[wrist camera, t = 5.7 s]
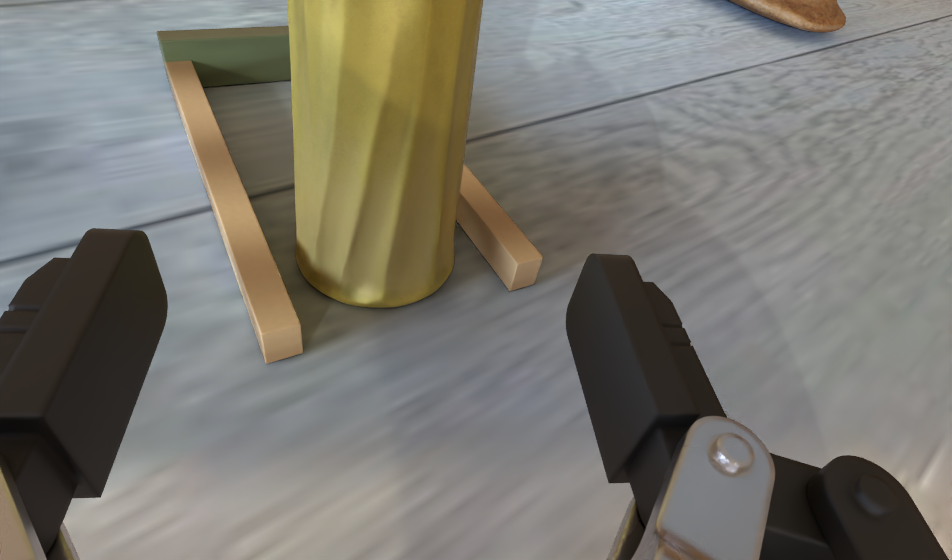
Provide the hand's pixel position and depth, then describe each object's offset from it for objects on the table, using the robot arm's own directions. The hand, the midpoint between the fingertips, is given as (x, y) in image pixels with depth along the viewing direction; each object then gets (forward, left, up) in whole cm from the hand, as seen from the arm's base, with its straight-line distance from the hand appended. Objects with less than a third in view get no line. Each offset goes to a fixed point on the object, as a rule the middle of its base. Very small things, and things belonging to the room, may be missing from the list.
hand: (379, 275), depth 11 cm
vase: (-4, +8, -8) cm, 12 cm away
